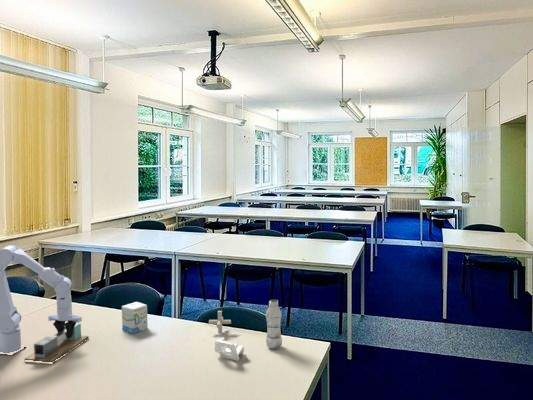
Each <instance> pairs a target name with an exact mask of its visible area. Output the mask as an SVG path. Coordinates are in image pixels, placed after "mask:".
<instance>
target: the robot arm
mask: <svg viewBox="0 0 533 400" xmlns="http://www.w3.org/2000/svg"><path fill="white" fill-rule="evenodd" d="M10 263H11V264H13V265H15V264H16V265H17V264H19V265H20V264H21V265H23V266H25V267H26V268H28V269H30V270H31V271H33V272H34V273H36V274H38V277H39V279H40V280H41V281H43V282H44V283H46V284H47V285H48V286H50V287H52V288H53V290H54V292H55V293H56V297H55V298H56V313H57V314H50V315H48V316H47V318H48V322H51V321H54V322H53V323H52V324H53V326H54V328H55V329H56V331H57V333H58V332H60V331H62V330H64V327H66V331H67V338H68V339H69V338H71V337H72V333H73V329H74V327H75V324H76V323H81V322H82V318H83V317H82V316H78V315H76V314H75V315H74V314H73V307H72V306H73V305H72V304H73V303H72V295H71V293H72V292H71V288H72V285H73V283H72V280H71V279H70V278H69V277H67V276H64V275H63V274H62V275H61V274H59V272H57V271H56V268H54V267H52V268H51V267H50V266H49V267H48V266H47V267H44V266H43V265H42V264H40V263H39V262H38V261H37V260H35V259H34V258H33V257H32V256H30V255H29V254H28V253H26V252H25V251H24V250H23V249H22V248H18V246H16V245H13V244H8V245H6V246H5V247H3V248H0V352H3V353H10V352H14V351H17V350H19V349H21V346H22V336H21V335H22V334H21V326H20V325H19V324H20V323H21V321H22V315H21V314H20V312H19V311H18V309H17V307H16V306H15V305H14V301H13V298H12V295H11V290H10V287H9V282H8V278H7V275H6V268H8V266H9V264H10Z"/></svg>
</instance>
